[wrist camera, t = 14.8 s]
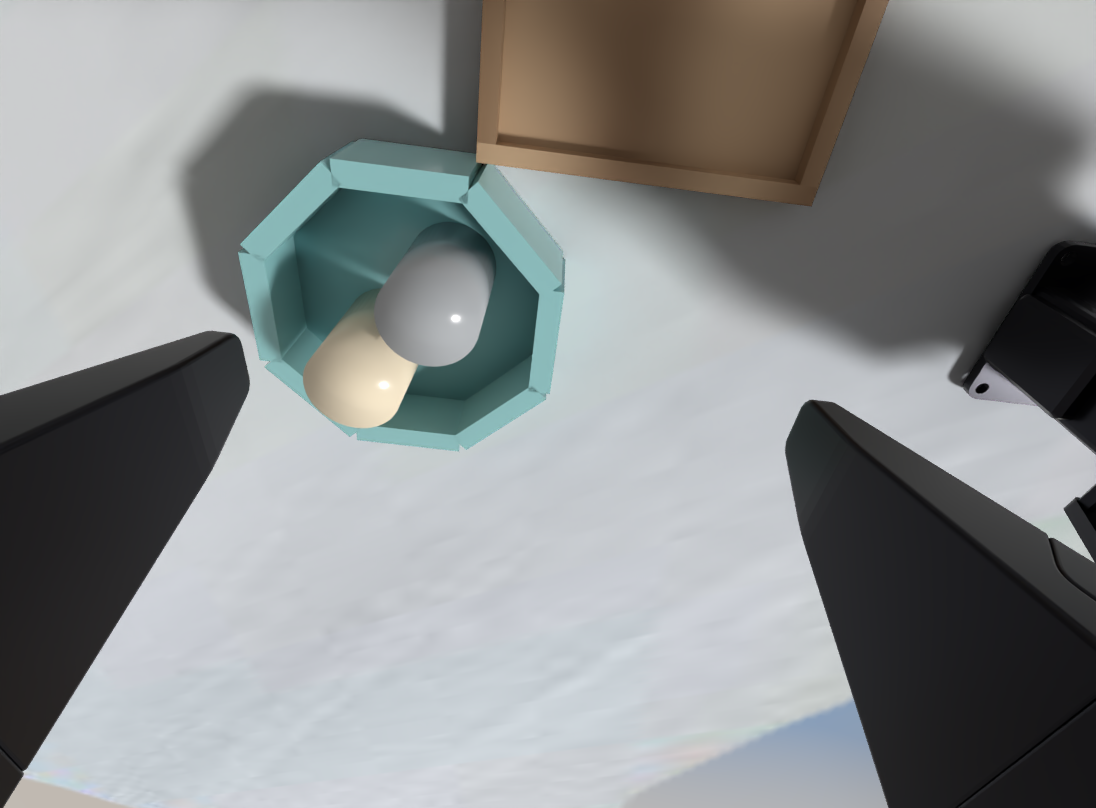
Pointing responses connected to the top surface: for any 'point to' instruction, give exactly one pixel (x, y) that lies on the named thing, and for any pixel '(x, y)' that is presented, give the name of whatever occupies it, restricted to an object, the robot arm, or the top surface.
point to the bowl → (370, 258)
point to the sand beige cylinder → (357, 370)
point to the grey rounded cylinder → (437, 295)
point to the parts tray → (673, 90)
